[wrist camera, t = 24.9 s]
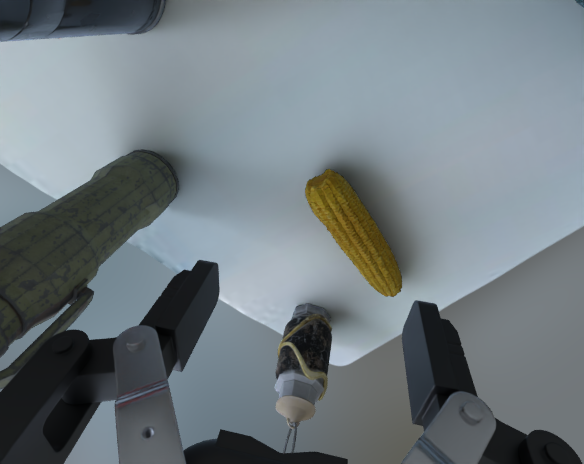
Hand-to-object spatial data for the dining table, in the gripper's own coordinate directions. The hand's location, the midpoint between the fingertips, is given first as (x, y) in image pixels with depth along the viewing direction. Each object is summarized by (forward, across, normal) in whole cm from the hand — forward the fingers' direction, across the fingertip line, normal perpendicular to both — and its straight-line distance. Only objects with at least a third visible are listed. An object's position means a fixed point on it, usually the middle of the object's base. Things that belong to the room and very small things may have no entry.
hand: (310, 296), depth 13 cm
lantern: (+30, 0, +34) cm, 46 cm away
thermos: (+30, +26, +12) cm, 42 cm away
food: (+30, -5, +14) cm, 34 cm away
